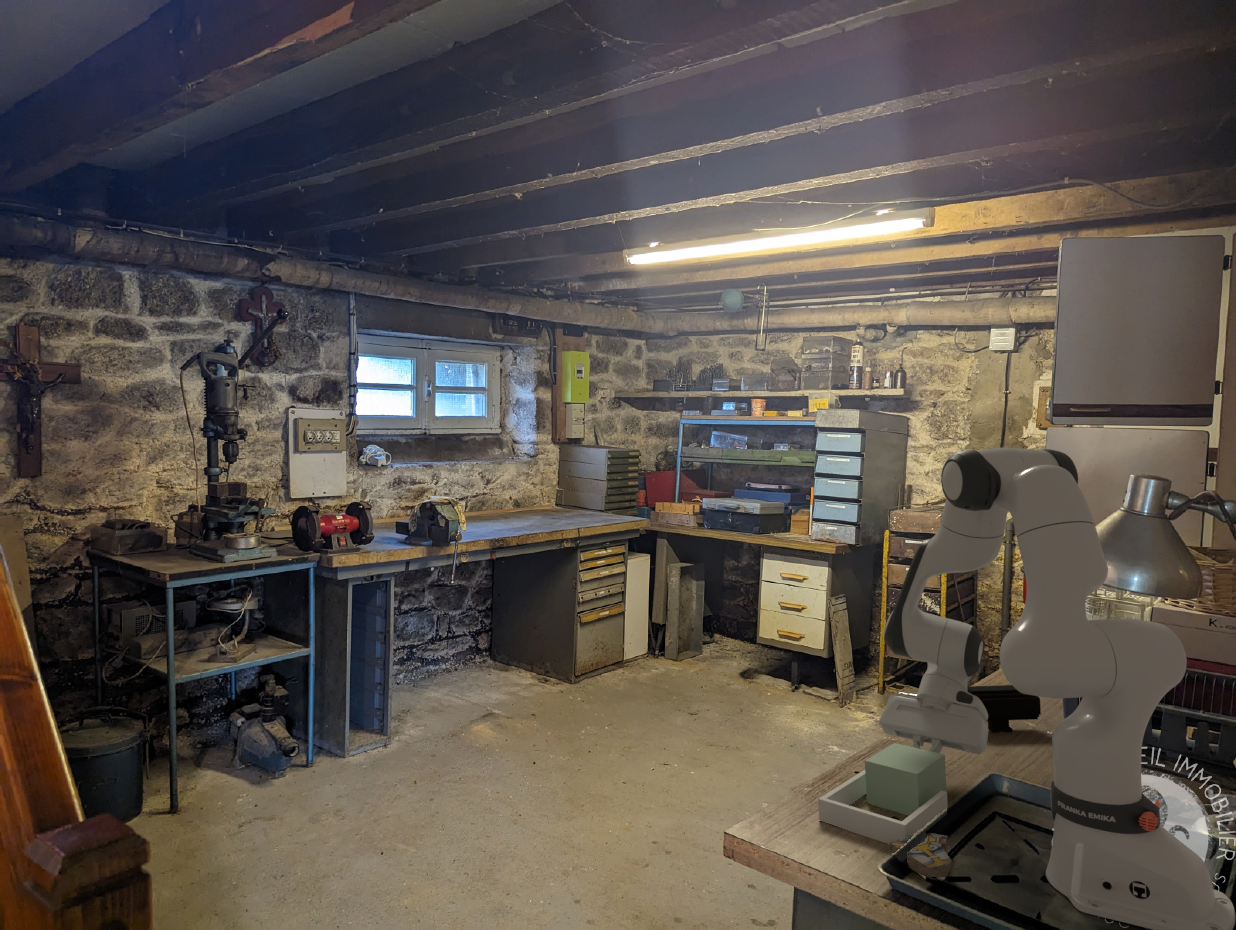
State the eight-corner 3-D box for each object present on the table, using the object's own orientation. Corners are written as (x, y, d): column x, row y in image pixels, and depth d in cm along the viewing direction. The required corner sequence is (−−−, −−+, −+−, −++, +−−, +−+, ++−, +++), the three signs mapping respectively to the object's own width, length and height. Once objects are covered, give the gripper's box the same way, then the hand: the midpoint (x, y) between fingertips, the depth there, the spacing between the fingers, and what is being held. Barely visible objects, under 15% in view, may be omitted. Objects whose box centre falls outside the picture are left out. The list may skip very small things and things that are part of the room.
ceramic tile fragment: (964, 866, 114) (894, 862, 116) (965, 888, 114) (895, 884, 116) (945, 830, 126) (882, 827, 128) (946, 850, 126) (882, 847, 128)
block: (946, 796, 145) (944, 754, 145) (919, 819, 137) (917, 773, 137) (896, 783, 152) (894, 742, 152) (866, 803, 144) (864, 760, 144)
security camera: (951, 727, 183) (949, 685, 183) (1029, 724, 182) (1028, 682, 182) (963, 737, 176) (961, 693, 176) (1045, 734, 175) (1043, 691, 175)
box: (948, 814, 138) (946, 791, 138) (906, 849, 126) (905, 825, 126) (864, 790, 149) (864, 769, 149) (819, 821, 137) (818, 798, 137)
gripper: (886, 682, 162) (866, 741, 155) (987, 699, 147) (970, 766, 140) (896, 698, 165) (877, 757, 158) (997, 717, 150) (980, 782, 143)
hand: (922, 761), depth 149 cm, fingers closed, pressing on block
